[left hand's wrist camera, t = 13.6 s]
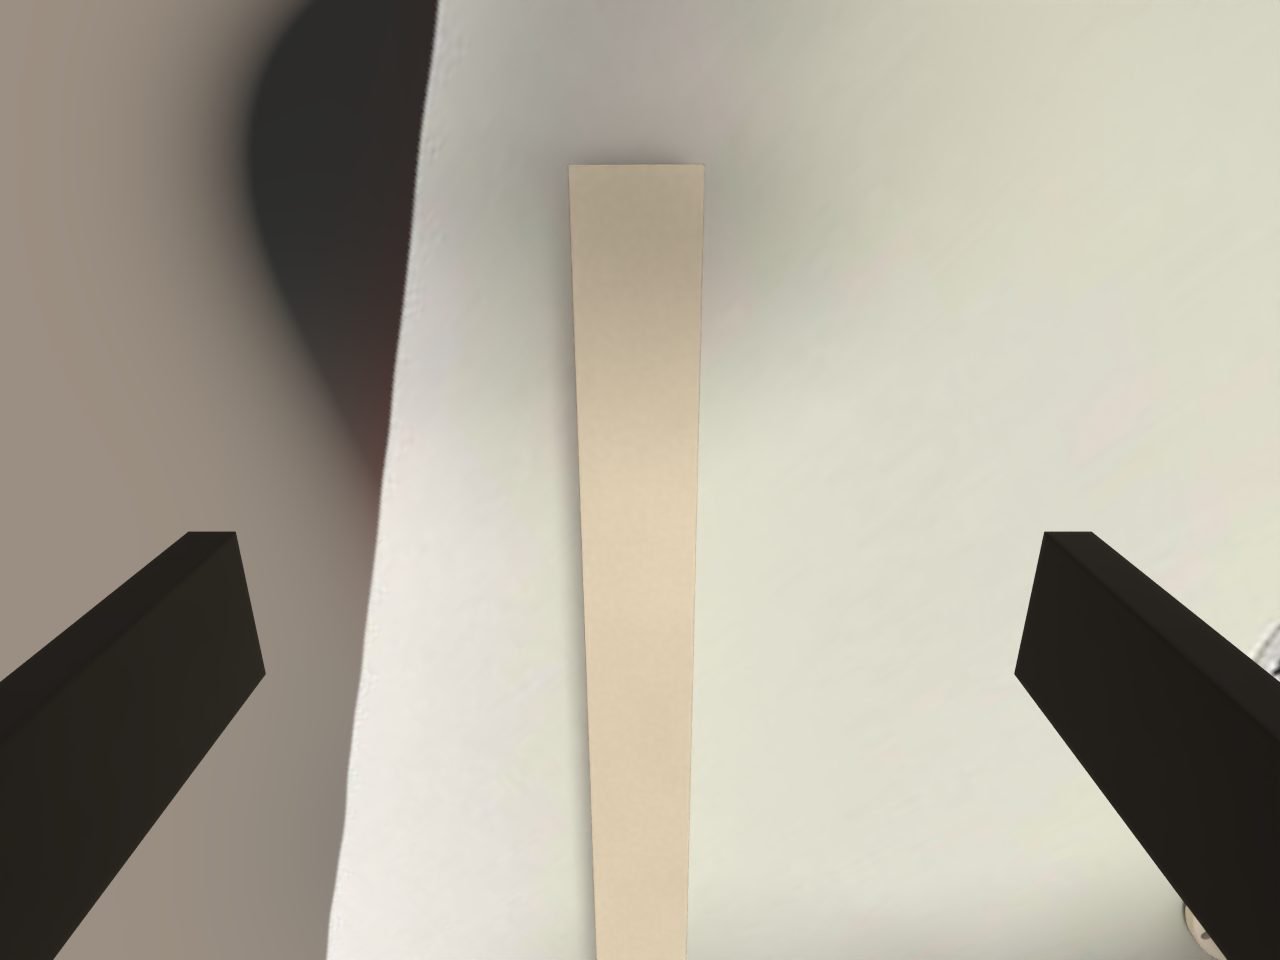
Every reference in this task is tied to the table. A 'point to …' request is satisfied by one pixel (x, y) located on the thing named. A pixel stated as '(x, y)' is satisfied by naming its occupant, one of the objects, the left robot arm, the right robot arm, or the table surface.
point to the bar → (638, 534)
